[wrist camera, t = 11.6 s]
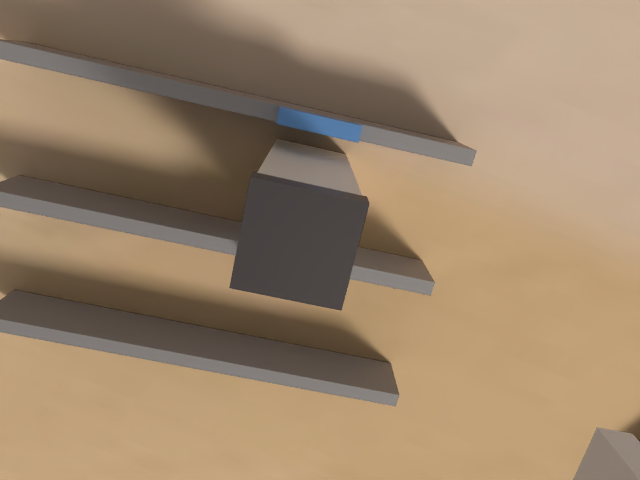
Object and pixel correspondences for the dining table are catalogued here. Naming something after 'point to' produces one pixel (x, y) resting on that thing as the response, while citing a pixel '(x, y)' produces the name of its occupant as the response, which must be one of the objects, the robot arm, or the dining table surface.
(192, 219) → the grey upright slats
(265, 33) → the dining table surface
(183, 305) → the dining table surface
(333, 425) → the dining table surface
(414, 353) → the dining table surface
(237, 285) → the block
